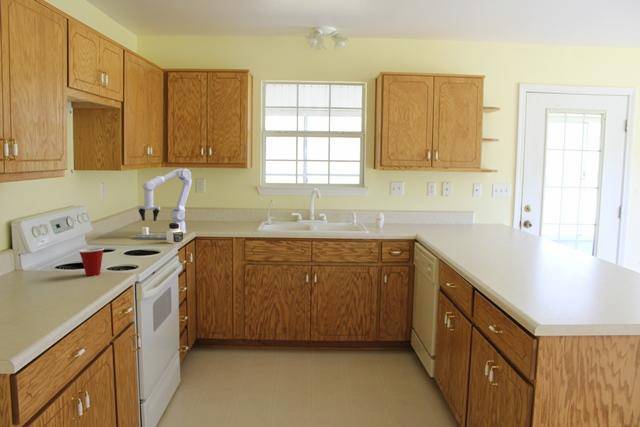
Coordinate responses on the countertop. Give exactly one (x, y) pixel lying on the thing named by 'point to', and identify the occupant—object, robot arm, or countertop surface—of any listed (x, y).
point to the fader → (145, 230)
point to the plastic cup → (92, 260)
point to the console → (151, 236)
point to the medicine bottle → (174, 234)
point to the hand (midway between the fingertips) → (149, 220)
